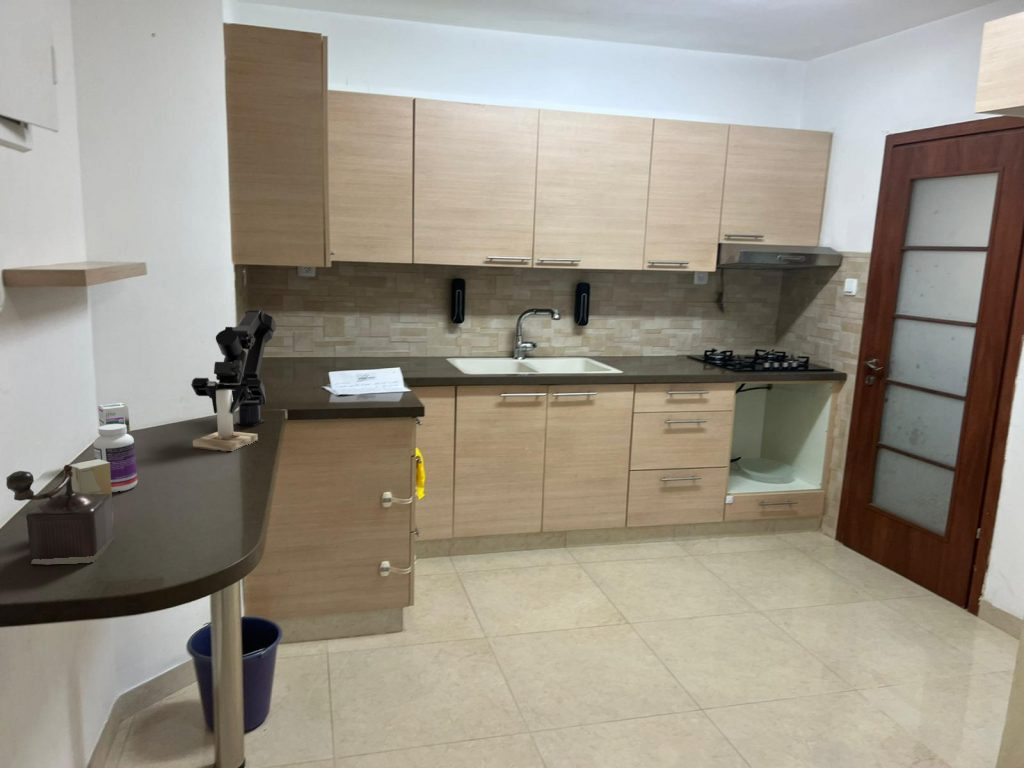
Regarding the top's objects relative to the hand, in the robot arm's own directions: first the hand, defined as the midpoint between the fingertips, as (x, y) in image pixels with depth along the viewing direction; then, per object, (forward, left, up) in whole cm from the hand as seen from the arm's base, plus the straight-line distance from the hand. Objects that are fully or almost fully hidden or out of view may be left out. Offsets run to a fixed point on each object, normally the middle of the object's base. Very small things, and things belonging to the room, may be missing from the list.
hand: (223, 412), depth 197 cm
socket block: (-1, 0, -9) cm, 9 cm away
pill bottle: (+38, 0, -10) cm, 39 cm away
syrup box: (+21, -16, -10) cm, 28 cm away
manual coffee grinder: (+71, +20, -10) cm, 74 cm away
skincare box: (+56, +11, -10) cm, 58 cm away
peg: (-1, 0, -7) cm, 7 cm away
